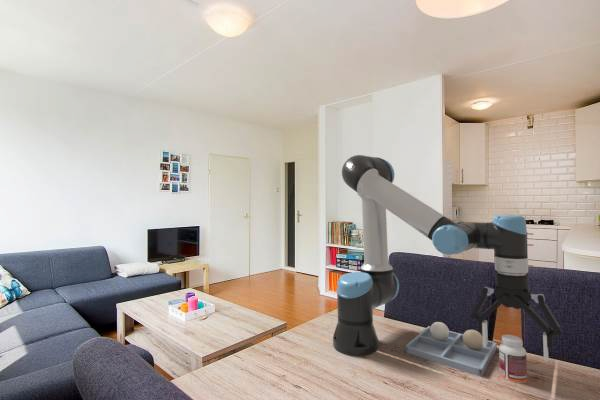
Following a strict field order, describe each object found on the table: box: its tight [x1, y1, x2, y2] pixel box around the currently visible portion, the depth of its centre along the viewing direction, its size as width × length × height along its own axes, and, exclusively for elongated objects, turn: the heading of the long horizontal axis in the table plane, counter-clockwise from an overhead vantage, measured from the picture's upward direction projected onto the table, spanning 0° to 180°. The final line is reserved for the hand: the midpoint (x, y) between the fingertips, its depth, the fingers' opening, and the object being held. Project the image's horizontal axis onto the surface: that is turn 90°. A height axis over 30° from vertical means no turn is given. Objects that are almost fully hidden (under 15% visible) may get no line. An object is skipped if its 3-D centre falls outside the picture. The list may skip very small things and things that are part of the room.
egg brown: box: [462, 329, 483, 350], centre depth 101 cm, size 6×6×6 cm
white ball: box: [430, 321, 450, 341], centre depth 107 cm, size 6×6×6 cm
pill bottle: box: [498, 334, 528, 384], centre depth 85 cm, size 6×6×11 cm
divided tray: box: [404, 325, 498, 378], centre depth 100 cm, size 21×21×3 cm
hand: (514, 351), depth 85 cm, fingers open, 13 cm apart
